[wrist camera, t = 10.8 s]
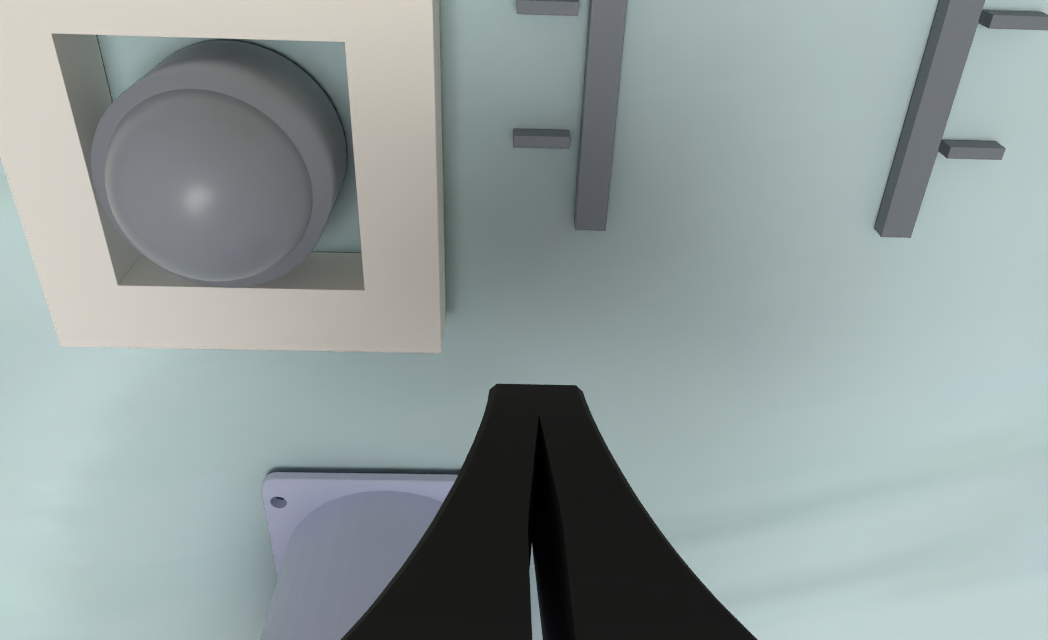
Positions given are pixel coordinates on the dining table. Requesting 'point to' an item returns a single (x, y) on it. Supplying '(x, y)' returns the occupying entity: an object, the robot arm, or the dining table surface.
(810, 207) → the dining table surface
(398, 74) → the housing
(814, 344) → the dining table surface
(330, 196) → the dome
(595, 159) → the track
